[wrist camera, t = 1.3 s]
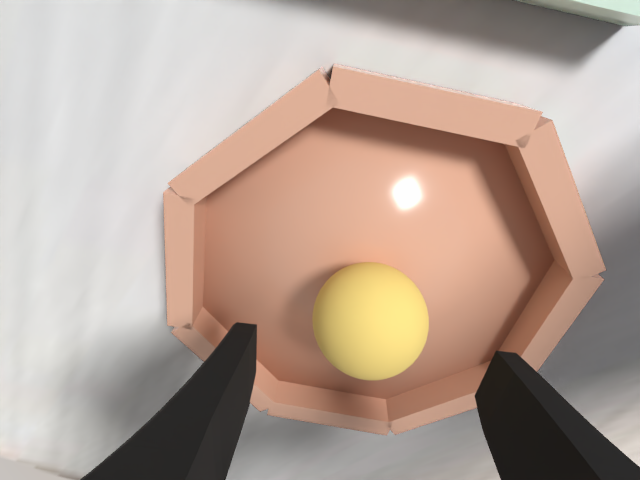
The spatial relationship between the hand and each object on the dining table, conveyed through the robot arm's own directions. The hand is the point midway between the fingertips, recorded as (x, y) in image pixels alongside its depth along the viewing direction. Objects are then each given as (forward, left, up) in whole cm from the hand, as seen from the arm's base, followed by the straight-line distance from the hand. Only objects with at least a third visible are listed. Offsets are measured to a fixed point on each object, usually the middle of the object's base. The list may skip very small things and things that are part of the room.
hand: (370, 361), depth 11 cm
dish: (0, 0, -5) cm, 5 cm away
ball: (0, 0, -4) cm, 4 cm away
